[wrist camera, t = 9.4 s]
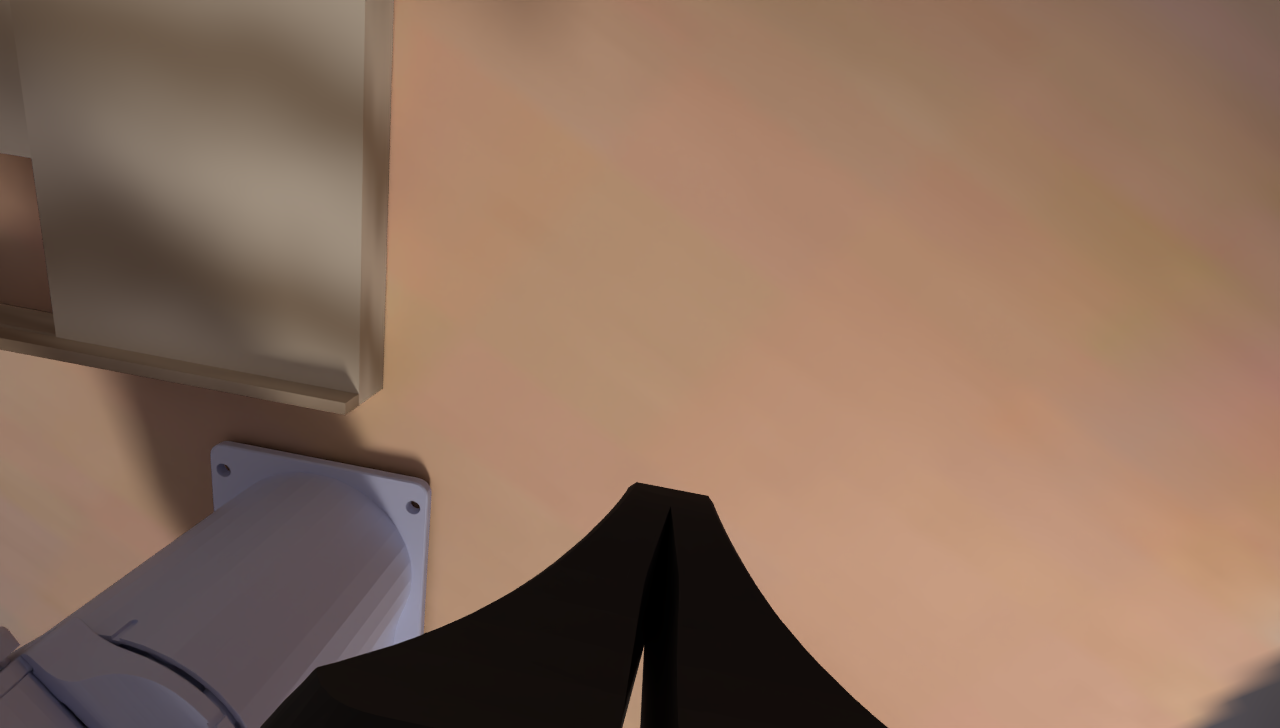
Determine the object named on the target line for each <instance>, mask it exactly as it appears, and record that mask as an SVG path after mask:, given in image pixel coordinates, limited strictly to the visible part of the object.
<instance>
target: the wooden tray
mask: <svg viewBox="0 0 1280 728" xmlns="http://www.w3.org/2000/svg"><path fill="white" fill-rule="evenodd" d="M393 12H394V0H0V153H3V154H9V155H15V156H21V157H27V158H31V159H32V167H33V174H34V181H35V188H36V195H37V203H38V210H39V217H40V224H41V231H42V239H43V246H44V253H45V260H46V267H47V275H48V282H49V289H50V296H51V303H52V311H53V313H48V312H43V311H38V310H32V309H27V308H21V307H16V306H11V305H5V304H0V350H6V351H11V352H16V353H21V354H27V355H32V356H37V357H42V358H48V359H53V360H58V361H63V362H69V363H74V364H79V365H84V366H90V367H95V368H100V369H105V370H111V371H116V372H121V373H126V374H132V375H137V376H142V377H147V378H153V379H158V380H163V381H168V382H174V383H179V384H184V385H190V386H195V387H200V388H205V389H211V390H216V391H221V392H226V393H232V394H237V395H242V396H247V397H253V398H258V399H263V400H268V401H274V402H279V403H284V404H289V405H295V406H300V407H305V408H310V409H316V410H321V411H326V412H331V413H337V414H342V415H346V414H348V413H349V412H350V411H352V410H353V409H355V408H356V407H357V406H359V405H360V404H362V403H363V402H365V401H366V400H367V399H369V398H370V397H372V396H373V395H374V394H376V393H377V392H379V391H380V390H381V389H383V367H384V331H385V296H386V260H387V225H388V189H389V154H390V118H391V83H392V48H393Z"/></svg>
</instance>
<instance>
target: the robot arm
mask: <svg viewBox="0 0 1280 728" xmlns="http://www.w3.org/2000/svg"><path fill="white" fill-rule="evenodd" d="M210 457H211V472H212V488H213V503H214V512H213V513H212V514H210V515H209V516H208V517H206V518H205V519H203V520H202V521H201V522H199V523H198V524H196V525H195V526H194V527H192V528H191V529H189V530H188V531H187V532H185V533H184V534H183V535H181V536H180V537H178V538H177V539H176V540H174V541H173V542H171V543H170V544H169V545H167V546H166V547H164V548H163V549H162V550H160V551H159V552H157V553H156V554H155V555H153V556H152V557H150V558H149V559H148V560H146V561H145V562H143V563H142V564H141V565H139V566H138V567H137V568H135V569H134V570H132V571H131V572H130V573H128V574H127V575H125V576H124V577H123V578H121V579H120V580H118V581H117V582H116V583H114V584H113V585H111V586H110V587H109V588H107V589H106V590H104V591H103V592H102V593H100V594H99V595H97V596H96V597H95V598H93V599H92V600H90V601H89V602H88V603H86V604H85V605H84V606H82V607H81V608H79V609H78V610H77V611H75V612H74V613H72V614H71V615H70V616H68V617H67V618H65V619H64V620H63V621H61V622H60V623H58V624H57V625H56V626H54V627H53V628H51V629H50V630H49V631H47V632H46V633H44V634H43V635H41V636H40V637H38V638H36V639H35V640H33V641H31V642H29V643H28V644H26V645H24V646H22V647H21V648H19V649H17V650H15V649H16V648H17V647H18V646H19V645H20V644H19V643H18V641H17V640H16V639H15V638H14V636H13V635H12V634H11V632H10V631H9V630H8V629H7V628H5V627H0V728H622V727H623V723H624V719H625V715H626V712H627V708H628V704H629V700H630V697H631V693H632V689H633V685H634V682H635V678H636V674H637V670H638V667H639V663H640V659H641V655H642V651H643V648H644V662H643V682H642V703H641V725H640V728H888V727H886V726H885V725H884V724H883V723H882V722H880V721H879V720H878V719H877V718H876V717H874V716H873V715H872V714H871V713H870V712H869V711H868V710H867V709H865V708H864V707H863V706H862V705H861V704H860V703H859V702H858V701H857V700H855V699H854V698H853V697H852V696H851V695H850V694H849V693H848V692H847V691H846V690H845V689H844V688H843V687H842V686H841V685H840V684H839V683H838V682H837V681H836V680H835V679H834V678H833V677H832V676H831V675H830V674H829V673H828V672H827V671H826V670H825V669H824V668H823V667H822V666H821V665H820V664H819V663H818V662H817V661H816V660H815V659H814V658H813V657H812V656H811V655H810V654H809V653H808V651H807V650H806V649H805V648H804V647H803V646H802V645H801V643H800V642H799V641H798V640H797V639H796V638H795V636H794V635H793V634H792V633H791V632H790V630H789V629H788V628H787V627H786V626H785V624H784V623H783V622H782V621H781V620H780V618H779V617H778V616H777V614H776V613H775V612H774V610H773V609H772V608H771V606H770V605H769V603H768V602H767V600H766V599H765V597H764V596H763V595H762V593H761V592H760V590H759V589H758V587H757V586H756V584H755V582H754V581H753V579H752V578H751V576H750V574H749V573H748V571H747V569H746V568H745V566H744V564H743V562H742V561H741V559H740V557H739V556H738V554H737V552H736V550H735V548H734V547H733V545H732V543H731V541H730V539H729V537H728V535H727V533H726V531H725V529H724V527H723V525H722V523H721V521H720V518H719V516H718V514H717V512H716V509H715V507H714V504H713V502H712V501H711V499H710V498H709V496H706V495H701V494H695V493H690V492H685V491H680V490H674V489H669V488H664V487H659V486H653V485H648V484H643V483H638V482H636V483H635V484H633V485H631V486H630V487H629V488H628V489H627V491H626V493H625V494H624V495H623V497H622V498H621V499H620V501H619V502H618V503H617V504H616V505H615V506H614V508H613V509H612V510H611V511H610V512H609V513H608V514H607V515H606V516H605V517H604V518H603V519H602V520H601V521H600V522H599V523H598V524H597V525H596V526H595V527H594V528H593V529H592V530H591V531H590V532H589V533H588V534H587V535H586V536H585V537H584V538H583V539H582V540H581V541H580V542H578V543H577V544H576V545H575V546H574V547H572V548H571V549H570V550H569V551H568V552H567V553H565V554H564V555H563V556H562V557H561V558H559V559H558V560H557V561H556V562H554V563H553V564H552V565H550V566H549V567H548V568H546V569H545V570H544V571H542V572H541V573H540V574H538V575H537V576H535V577H534V578H532V579H531V580H529V581H528V582H526V583H525V584H523V585H522V586H520V587H519V588H517V589H516V590H514V591H512V592H511V593H509V594H507V595H505V596H504V597H502V598H500V599H498V600H497V601H495V602H493V603H491V604H489V605H487V606H485V607H483V608H481V609H479V610H478V611H476V612H474V613H472V614H470V615H468V616H466V617H463V618H461V619H459V620H457V621H454V622H452V623H450V624H447V625H445V626H443V627H440V628H438V629H435V630H433V631H430V632H428V633H425V634H424V616H425V599H426V581H427V563H428V546H429V528H430V510H431V488H430V486H429V484H428V483H427V482H426V481H424V480H423V479H420V478H417V477H411V476H406V475H401V474H396V473H391V472H386V471H381V470H376V469H370V468H365V467H360V466H355V465H350V464H345V463H340V462H334V461H329V460H324V459H319V458H314V457H309V456H304V455H298V454H293V453H288V452H283V451H278V450H273V449H268V448H263V447H257V446H252V445H247V444H242V443H237V442H232V441H223V442H221V443H219V444H217V445H215V446H214V447H213V448H212V449H211V454H210ZM224 464H225V465H227V466H228V467H229V468H230V471H229V470H227V469H226V468H225V465H224ZM411 501H414V502H417V503H418V505H419V506H420V508H419V509H417V508H415V507H413V505H412V504H411ZM14 650H15V651H14ZM13 651H14V652H13ZM11 652H12V653H11Z"/></svg>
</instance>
